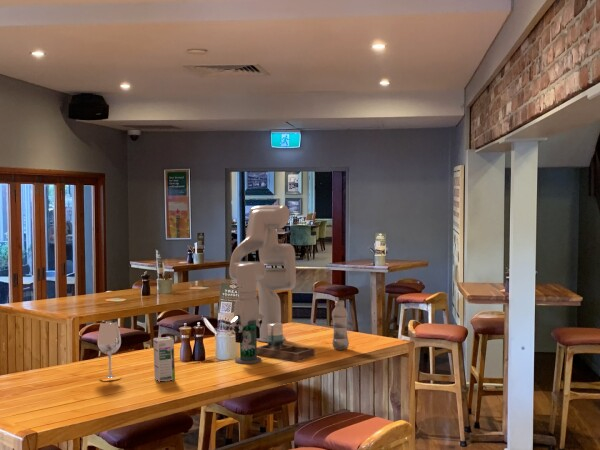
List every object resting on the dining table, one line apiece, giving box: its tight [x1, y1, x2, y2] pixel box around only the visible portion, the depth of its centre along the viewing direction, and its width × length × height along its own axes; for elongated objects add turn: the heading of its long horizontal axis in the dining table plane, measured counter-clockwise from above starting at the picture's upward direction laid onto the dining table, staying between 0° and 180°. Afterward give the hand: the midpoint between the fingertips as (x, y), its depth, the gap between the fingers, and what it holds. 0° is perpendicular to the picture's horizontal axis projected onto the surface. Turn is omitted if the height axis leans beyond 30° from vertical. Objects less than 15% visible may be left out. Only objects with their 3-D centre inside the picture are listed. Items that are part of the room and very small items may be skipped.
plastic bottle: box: [331, 299, 350, 351], centre depth 277 cm, size 6×7×20 cm
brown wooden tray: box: [257, 343, 316, 363], centre depth 268 cm, size 21×11×3 cm, turn 52°
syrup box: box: [152, 336, 176, 383], centre depth 234 cm, size 6×6×14 cm
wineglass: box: [97, 320, 122, 378], centre depth 237 cm, size 8×8×20 cm
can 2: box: [267, 322, 284, 350], centre depth 271 cm, size 6×6×12 cm
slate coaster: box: [234, 356, 262, 365], centre depth 260 cm, size 10×10×1 cm
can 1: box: [239, 320, 258, 361], centre depth 260 cm, size 6×6×15 cm
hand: (247, 340), depth 260 cm, fingers open, 9 cm apart
